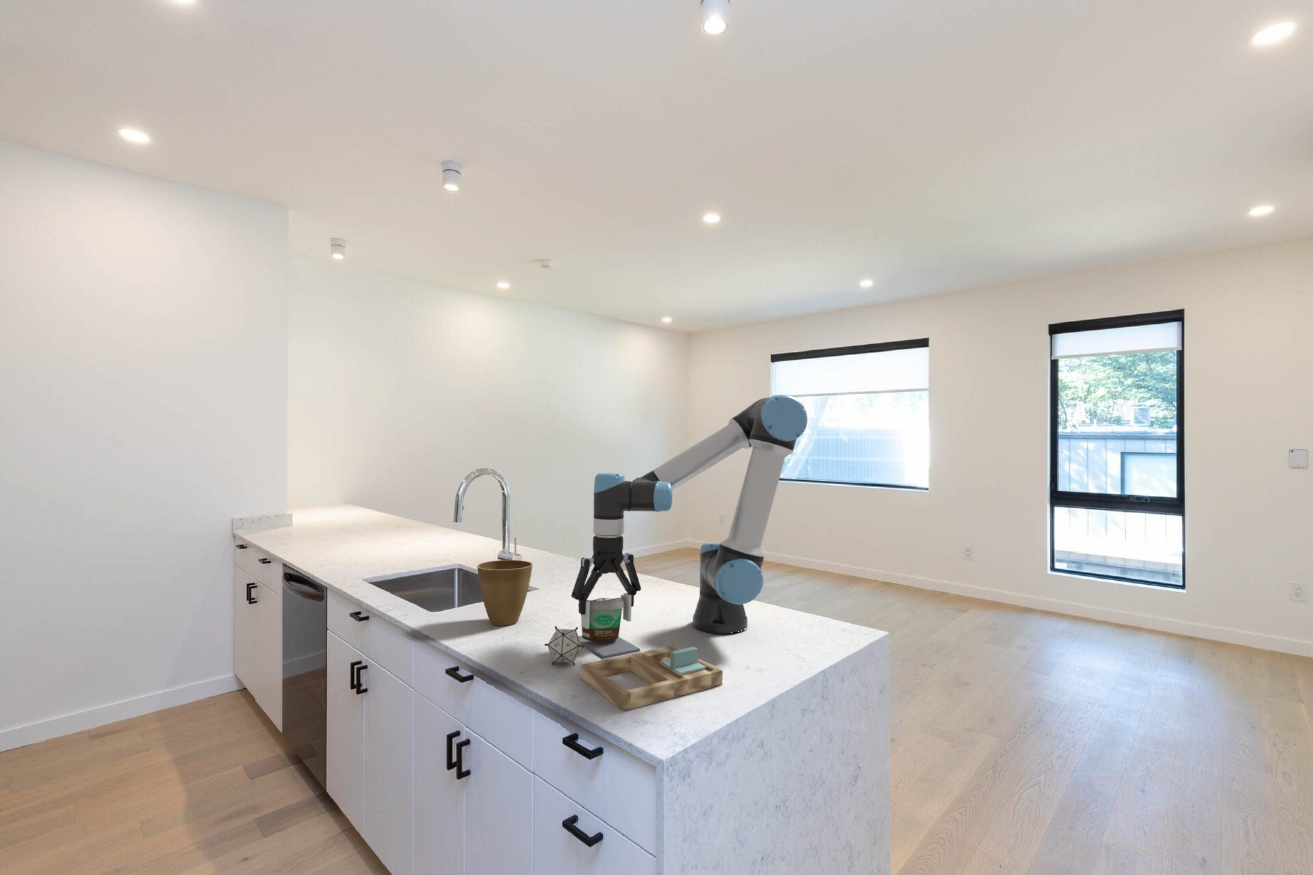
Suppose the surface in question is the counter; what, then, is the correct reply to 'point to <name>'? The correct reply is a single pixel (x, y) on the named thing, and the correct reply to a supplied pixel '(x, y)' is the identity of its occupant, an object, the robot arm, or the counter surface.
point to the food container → (604, 619)
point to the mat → (609, 647)
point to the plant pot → (504, 589)
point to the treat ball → (665, 660)
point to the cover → (684, 661)
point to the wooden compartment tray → (647, 678)
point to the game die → (564, 645)
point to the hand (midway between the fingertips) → (606, 623)
